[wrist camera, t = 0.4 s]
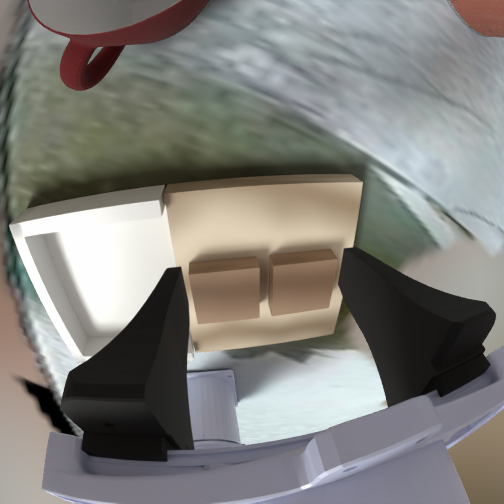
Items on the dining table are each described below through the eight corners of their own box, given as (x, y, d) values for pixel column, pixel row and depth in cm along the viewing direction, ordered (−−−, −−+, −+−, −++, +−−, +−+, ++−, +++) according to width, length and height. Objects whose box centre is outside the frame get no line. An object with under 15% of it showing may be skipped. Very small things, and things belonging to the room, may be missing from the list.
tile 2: (256, 305, 24) (259, 317, 23) (197, 311, 24) (198, 324, 23) (256, 256, 22) (259, 267, 20) (188, 262, 21) (188, 274, 20)
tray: (193, 337, 28) (193, 360, 26) (84, 342, 27) (78, 363, 24) (164, 184, 20) (159, 200, 17) (26, 208, 18) (9, 225, 16)
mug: (167, 108, 17) (131, 127, 9) (68, 77, 14) (-23, 85, 6) (240, -17, 13) (272, -89, 4) (137, -47, 10) (98, -115, 1)
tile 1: (323, 296, 25) (329, 307, 24) (268, 304, 25) (271, 316, 23) (330, 248, 22) (338, 259, 21) (269, 254, 22) (273, 266, 21)
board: (327, 320, 30) (333, 333, 28) (195, 337, 28) (195, 352, 27) (351, 173, 21) (362, 182, 20) (167, 184, 20) (164, 194, 18)
